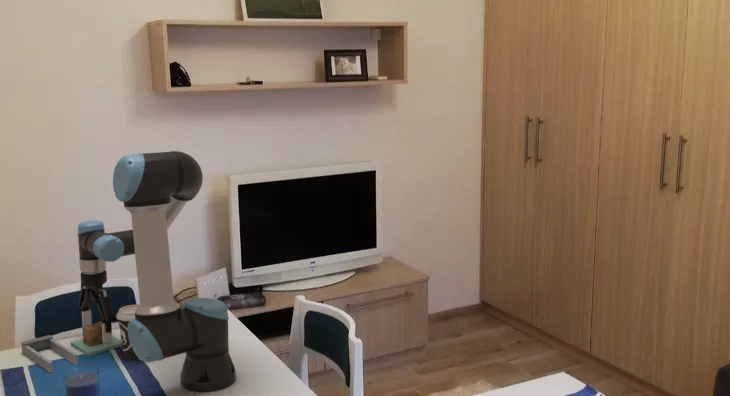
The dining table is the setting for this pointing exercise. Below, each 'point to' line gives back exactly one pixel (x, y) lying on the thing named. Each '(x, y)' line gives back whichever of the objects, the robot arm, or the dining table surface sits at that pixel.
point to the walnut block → (92, 334)
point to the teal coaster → (97, 348)
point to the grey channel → (41, 343)
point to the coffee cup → (124, 318)
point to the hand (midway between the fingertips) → (97, 336)
